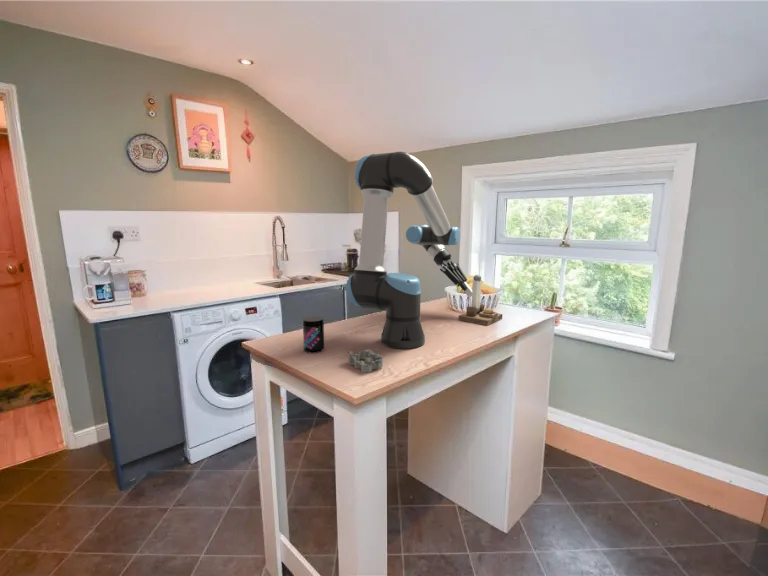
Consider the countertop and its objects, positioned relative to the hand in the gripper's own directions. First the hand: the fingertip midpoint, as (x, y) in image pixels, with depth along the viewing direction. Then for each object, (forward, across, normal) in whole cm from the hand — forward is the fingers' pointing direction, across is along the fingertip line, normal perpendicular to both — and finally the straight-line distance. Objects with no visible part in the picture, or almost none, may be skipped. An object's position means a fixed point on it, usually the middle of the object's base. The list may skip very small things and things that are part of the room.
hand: (471, 295), depth 161 cm
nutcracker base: (+10, 0, -4) cm, 11 cm away
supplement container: (-7, +70, -21) cm, 73 cm away
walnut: (+11, 0, 0) cm, 11 cm away
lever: (+6, 0, -3) cm, 7 cm away
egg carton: (+9, +69, -5) cm, 70 cm away
